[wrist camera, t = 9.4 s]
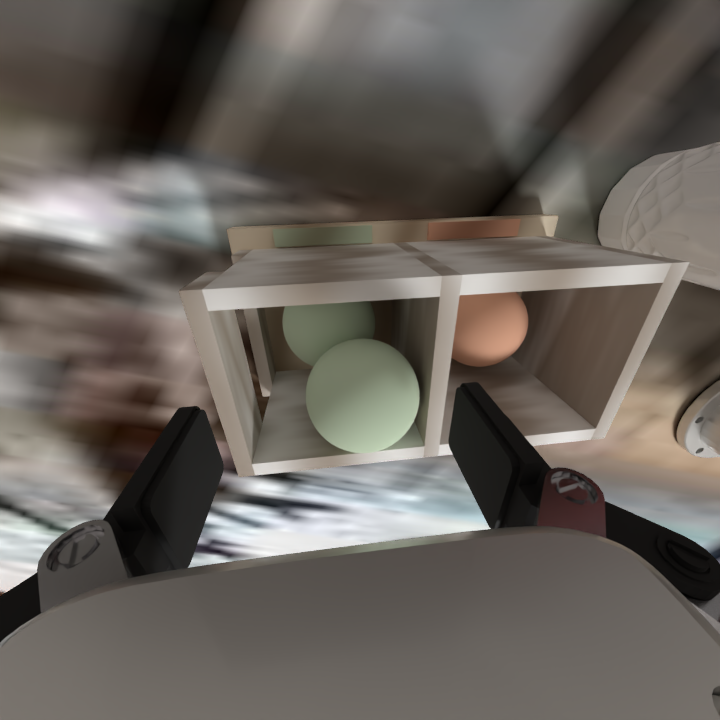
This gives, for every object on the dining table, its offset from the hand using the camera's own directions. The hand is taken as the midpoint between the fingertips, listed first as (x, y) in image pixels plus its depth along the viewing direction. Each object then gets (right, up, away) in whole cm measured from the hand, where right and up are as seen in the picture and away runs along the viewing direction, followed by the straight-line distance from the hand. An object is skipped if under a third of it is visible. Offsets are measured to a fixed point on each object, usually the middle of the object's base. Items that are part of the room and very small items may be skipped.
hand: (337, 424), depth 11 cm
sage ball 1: (-1, +5, +7) cm, 9 cm away
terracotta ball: (+9, +5, +8) cm, 13 cm away
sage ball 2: (+1, +1, +4) cm, 4 cm away
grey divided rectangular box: (+3, +6, +12) cm, 14 cm away
